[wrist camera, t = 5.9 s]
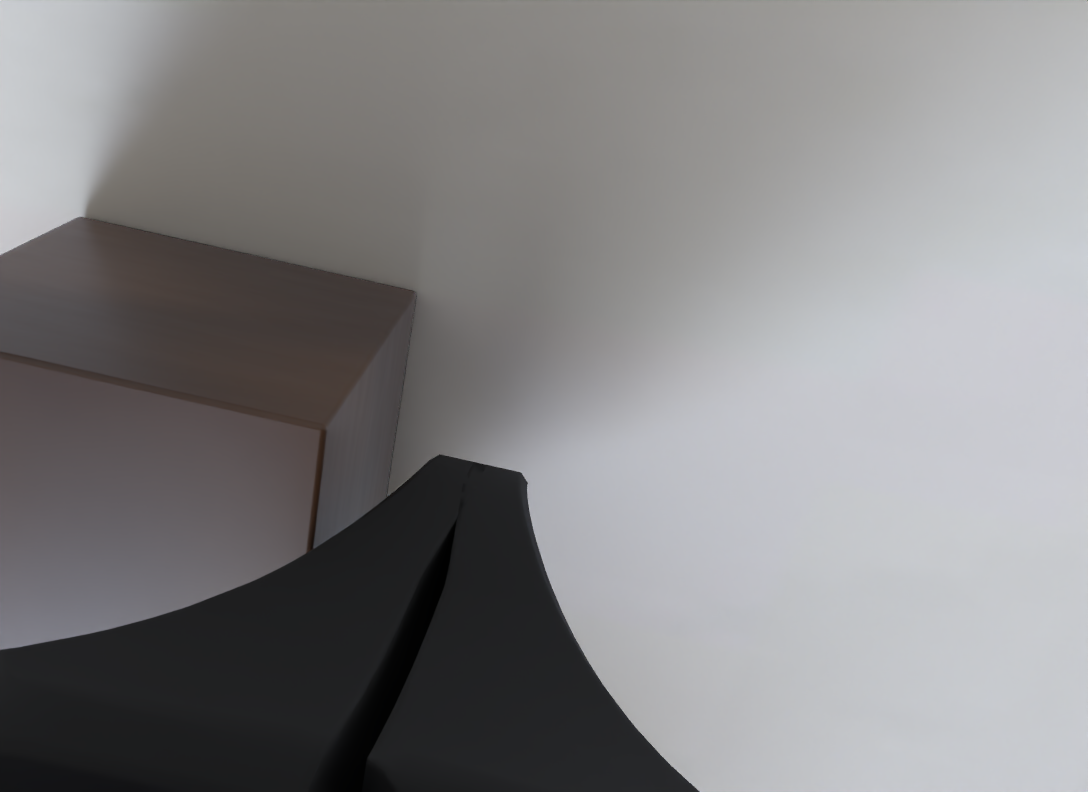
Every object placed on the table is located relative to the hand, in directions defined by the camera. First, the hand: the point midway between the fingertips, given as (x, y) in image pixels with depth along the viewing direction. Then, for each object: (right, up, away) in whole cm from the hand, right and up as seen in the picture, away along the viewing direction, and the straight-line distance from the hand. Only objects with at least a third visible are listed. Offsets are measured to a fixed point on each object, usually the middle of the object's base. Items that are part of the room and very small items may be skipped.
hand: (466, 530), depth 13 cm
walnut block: (-3, +1, +1) cm, 4 cm away
